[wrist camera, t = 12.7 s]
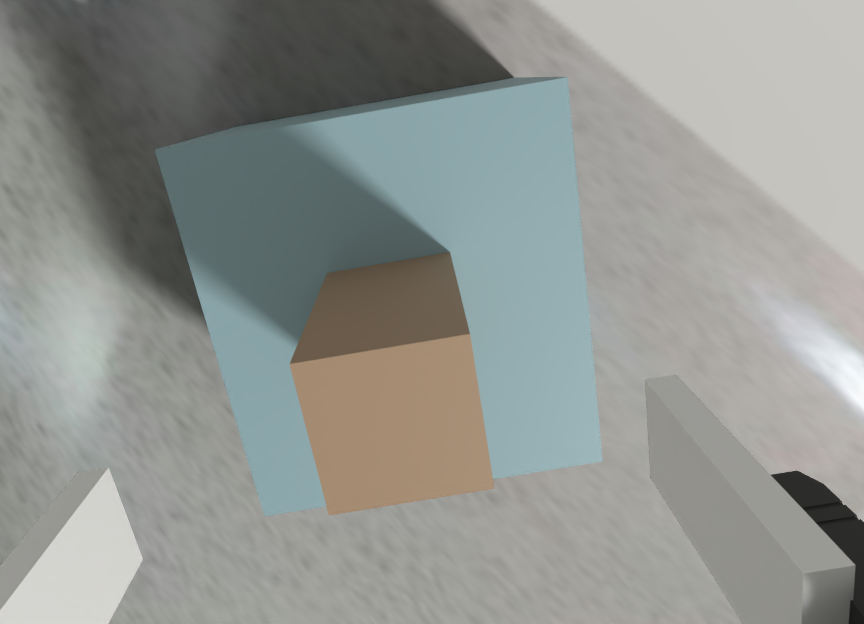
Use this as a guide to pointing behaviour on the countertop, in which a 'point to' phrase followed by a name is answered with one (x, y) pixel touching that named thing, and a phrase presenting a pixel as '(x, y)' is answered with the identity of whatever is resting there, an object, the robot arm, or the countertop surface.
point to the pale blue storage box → (395, 293)
